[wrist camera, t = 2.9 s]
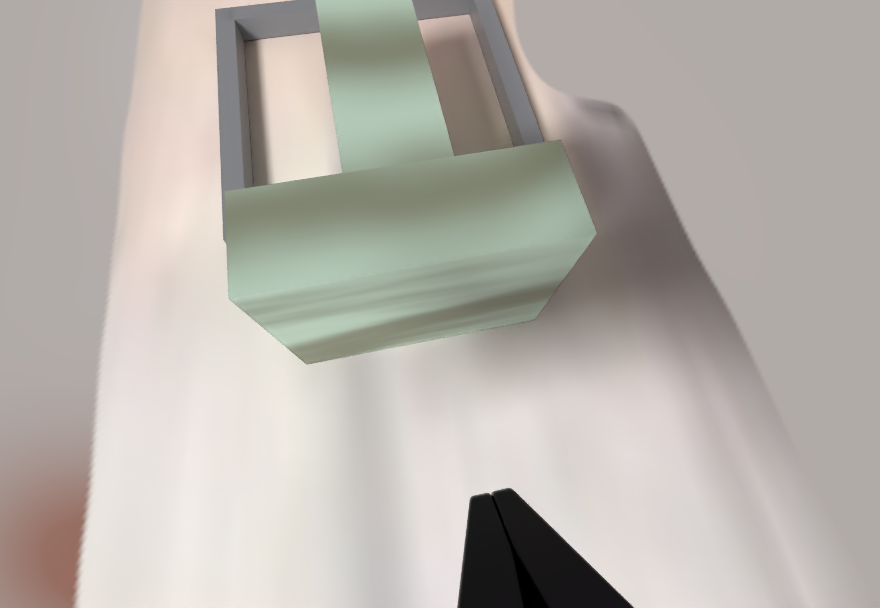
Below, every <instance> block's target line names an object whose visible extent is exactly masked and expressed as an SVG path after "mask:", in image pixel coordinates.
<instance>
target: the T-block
mask: <svg viewBox="0 0 880 608" xmlns="http://www.w3.org/2000/svg"><path fill="white" fill-rule="evenodd" d="M315 1H316V7H317V14H318V20H319V27H320V33H321V39H322V46H323V52H324V59H325V65H326V71H327V78H328V84H329V91H330V97H331V103H332V110H333V116H334V123H335V129H336V135H337V142H338V148H339V155H340V161H341V167H342V173H341V174H334V175H328V176H321V177H315V178H308V179H302V180H295V181H289V182H282V183H276V184H269V185H263V186H256V187H250V188H243V189H237V190H230V191H225V218H226V244H227V270H228V297H229V300H231V301H232V302H233V303H234V304H235V305H236V306H238V307H239V308H240V309H241V310H242V311H244V312H245V313H246V314H247V315H248V316H250V317H251V318H252V319H253V320H254V321H256V322H257V323H258V324H259V325H260V326H261V327H263V328H264V329H265V330H266V331H267V332H269V333H270V334H271V335H272V336H273V337H275V338H276V339H277V340H278V341H279V342H281V343H282V344H283V345H284V346H285V347H286V348H288V349H289V350H290V351H291V352H292V353H294V354H295V355H296V356H297V357H298V358H300V359H301V360H302V361H303V362H304V363H306V364H312V363H317V362H322V361H328V360H333V359H338V358H343V357H348V356H353V355H358V354H363V353H369V352H374V351H379V350H384V349H389V348H394V347H399V346H404V345H409V344H415V343H420V342H425V341H430V340H435V339H440V338H445V337H450V336H456V335H461V334H466V333H471V332H476V331H481V330H486V329H491V328H497V327H502V326H507V325H512V324H517V323H522V322H527V321H532V320H535V319H536V317H537V316H538V315H539V313H540V312H541V310H542V309H543V308H544V306H545V305H546V303H547V302H548V301H549V299H550V298H551V297H552V295H553V294H554V292H555V291H556V290H557V288H558V287H559V285H560V284H561V283H562V281H563V280H564V279H565V277H566V276H567V274H568V273H569V272H570V270H571V269H572V268H573V266H574V265H575V263H576V262H577V261H578V259H579V258H580V256H581V255H582V254H583V252H584V251H585V250H586V248H587V247H588V245H589V244H590V243H591V241H592V240H593V238H594V237H595V236H596V234H597V232H596V229H595V227H594V224H593V222H592V219H591V216H590V214H589V211H588V209H587V206H586V203H585V201H584V198H583V196H582V193H581V191H580V188H579V185H578V183H577V180H576V178H575V175H574V173H573V170H572V167H571V165H570V162H569V160H568V157H567V154H566V152H565V149H564V147H563V144H562V142H561V140H556V141H549V142H543V143H536V144H530V145H523V146H517V147H510V148H504V149H497V150H491V151H484V152H478V153H471V154H465V155H458V156H454V153H453V149H452V145H451V142H450V138H449V134H448V131H447V127H446V123H445V120H444V116H443V112H442V109H441V105H440V101H439V98H438V94H437V90H436V87H435V83H434V79H433V76H432V72H431V68H430V65H429V61H428V57H427V54H426V50H425V47H424V43H423V39H422V36H421V32H420V28H419V25H418V21H417V17H416V14H415V10H414V6H413V3H412V0H315Z"/></svg>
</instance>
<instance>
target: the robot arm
mask: <svg viewBox="0 0 880 608" xmlns="http://www.w3.org/2000/svg"><path fill="white" fill-rule="evenodd" d="M457 608H634V607H633V606H632V605H631V604H630V603H629V602H628V601H627V600H626V599H625V598H624V597H623V596H622V595H620V594H619V593H618V592H617V591H616V590H615V589H614V588H613V587H612V586H611V585H610V584H609V583H608V582H607V581H606V580H605V579H604V578H603V577H602V576H601V575H600V574H599V573H598V572H597V571H596V570H595V569H594V568H593V567H592V566H591V565H590V564H589V563H588V562H587V561H586V560H585V559H584V558H583V557H582V556H581V555H580V554H579V553H577V552H576V551H575V550H574V549H573V548H572V547H571V546H570V545H569V544H568V543H567V542H566V541H565V540H564V539H563V538H562V537H561V536H560V535H559V534H558V533H557V532H556V531H555V530H554V529H553V528H552V527H551V526H550V525H549V524H548V523H547V522H546V521H545V520H544V519H543V518H542V517H541V516H540V515H539V514H538V513H537V512H536V511H534V510H533V509H532V508H531V507H530V506H529V505H528V504H527V503H526V502H525V501H524V500H523V499H522V498H521V497H520V496H519V495H518V494H517V493H516V492H515V491H514V490H513V489H511V488H506V489H502V490H497V491H494V492H492V494H489V493H484V494H480V495H475V496H472V497H471V498H470V503H469V511H468V520H467V529H466V537H465V546H464V555H463V563H462V572H461V580H460V589H459V598H458V606H457Z"/></svg>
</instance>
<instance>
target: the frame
mask: <svg viewBox="0 0 880 608" xmlns="http://www.w3.org/2000/svg"><path fill="white" fill-rule="evenodd" d="M412 3H413V6H414V10H415V14H416V17H417V20H422V19H430V18H438V17H447V16H455V15H463V14H470V17H471V20H472V23H473V26H474V28H475V31H476V34H477V37H478V40H479V43H480V46H481V49H482V52H483V55H484V58H485V61H486V64H487V67H488V70H489V73H490V76H491V79H492V82H493V85H494V88H495V91H496V94H497V97H498V100H499V103H500V106H501V109H502V112H503V115H504V118H505V121H506V123H507V126H508V129H509V132H510V135H511V138H512V141H513V144H514V147H517V146H523V145H530V144H536V143H543V142H544V140H543V137H542V134H541V132H540V129H539V126H538V124H537V121H536V118H535V115H534V113H533V110H532V107H531V105H530V102H529V99H528V97H527V94H526V91H525V88H524V86H523V83H522V80H521V78H520V75H519V72H518V69H517V67H516V64H515V61H514V59H513V56H512V53H511V50H510V48H509V45H508V42H507V40H506V37H505V34H504V32H503V29H502V26H501V23H500V21H499V18H498V15H497V13H496V10H495V7H494V4H493V2H492V0H412ZM215 16H216V44H217V72H218V101H219V129H220V157H221V186H222V214H223V240H224V241H225V242H226V218H225V191H230V190H237V189H243V188H250V187H254V186H253V171H252V156H251V141H250V126H249V111H248V96H247V81H246V66H245V51H244V41H247V40H256V39H264V38H272V37H280V36H289V35H297V34H305V33H314V32H320V27H319V20H318V14H317V7H316V1H315V0H293V1H284V2H275V3H267V4H258V5H249V6H240V7H231V8H222V9H215Z"/></svg>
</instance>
